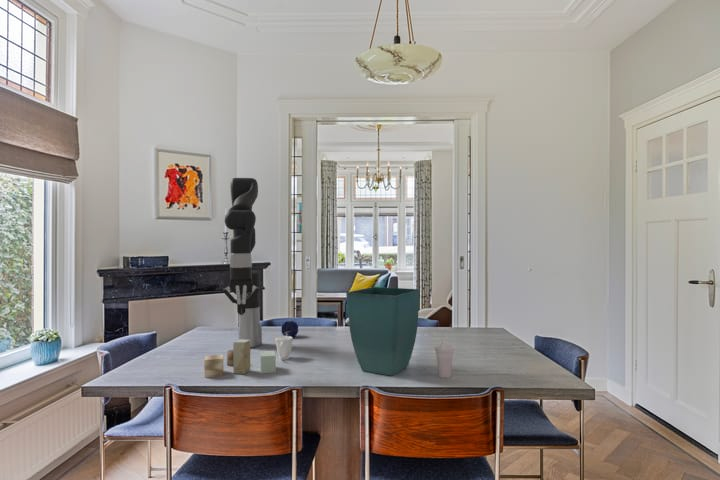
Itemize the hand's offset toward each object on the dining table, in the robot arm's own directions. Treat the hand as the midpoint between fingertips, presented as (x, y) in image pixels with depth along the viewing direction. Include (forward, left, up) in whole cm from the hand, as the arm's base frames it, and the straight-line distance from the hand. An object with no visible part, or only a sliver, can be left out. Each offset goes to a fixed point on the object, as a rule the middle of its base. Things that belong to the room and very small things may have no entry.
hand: (241, 314), depth 154 cm
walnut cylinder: (-3, -11, -21) cm, 23 cm away
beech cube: (+8, -5, -21) cm, 23 cm away
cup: (-20, -3, -21) cm, 29 cm away
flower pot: (-36, +36, -21) cm, 55 cm away
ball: (-46, -34, -21) cm, 61 cm away
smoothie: (-44, +56, -21) cm, 74 cm away
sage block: (-8, +5, -21) cm, 22 cm away
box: (0, 0, -21) cm, 21 cm away
